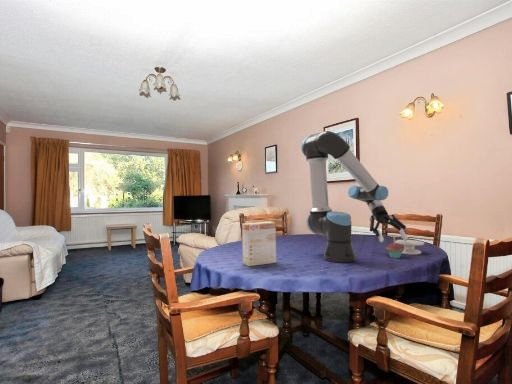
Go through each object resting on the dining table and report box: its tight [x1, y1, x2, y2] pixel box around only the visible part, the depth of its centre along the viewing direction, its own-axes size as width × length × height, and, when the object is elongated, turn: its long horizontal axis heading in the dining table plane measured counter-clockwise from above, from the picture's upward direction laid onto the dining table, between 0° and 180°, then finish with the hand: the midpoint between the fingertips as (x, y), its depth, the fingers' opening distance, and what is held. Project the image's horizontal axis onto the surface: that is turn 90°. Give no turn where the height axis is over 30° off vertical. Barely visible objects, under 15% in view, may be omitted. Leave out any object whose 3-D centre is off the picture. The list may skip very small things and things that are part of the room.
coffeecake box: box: [241, 220, 277, 267], centre depth 144 cm, size 15×7×20 cm, turn 115°
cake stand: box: [395, 239, 425, 256], centre depth 164 cm, size 14×14×6 cm
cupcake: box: [385, 234, 404, 259], centre depth 153 cm, size 9×8×12 cm
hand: (394, 240), depth 156 cm, fingers open, 13 cm apart
